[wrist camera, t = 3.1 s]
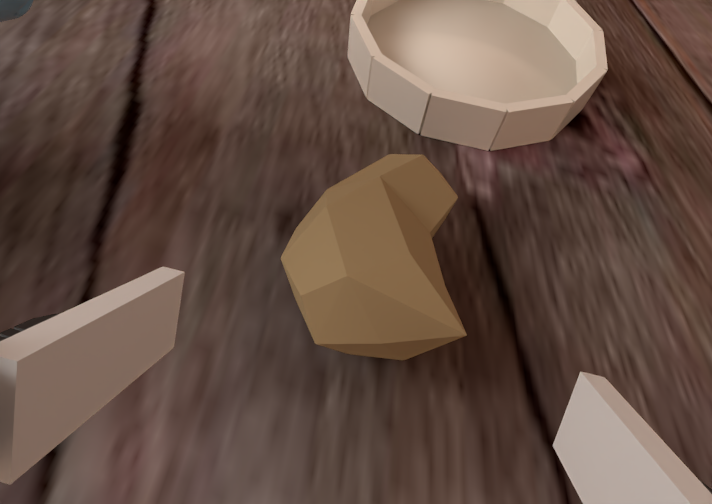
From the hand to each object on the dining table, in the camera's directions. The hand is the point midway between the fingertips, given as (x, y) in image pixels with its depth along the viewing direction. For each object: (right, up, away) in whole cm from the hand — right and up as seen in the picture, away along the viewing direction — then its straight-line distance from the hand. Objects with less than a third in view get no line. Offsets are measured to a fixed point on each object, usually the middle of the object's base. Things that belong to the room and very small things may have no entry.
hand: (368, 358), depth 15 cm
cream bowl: (+11, +23, +32) cm, 41 cm away
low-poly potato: (+1, +1, +18) cm, 18 cm away
